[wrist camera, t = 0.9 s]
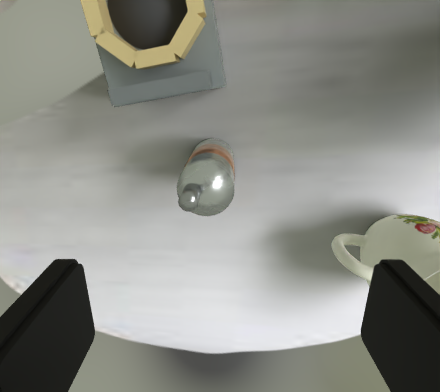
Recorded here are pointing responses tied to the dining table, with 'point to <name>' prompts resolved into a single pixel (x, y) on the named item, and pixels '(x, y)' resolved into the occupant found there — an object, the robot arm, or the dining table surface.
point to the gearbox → (156, 47)
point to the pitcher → (395, 247)
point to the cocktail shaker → (207, 179)
